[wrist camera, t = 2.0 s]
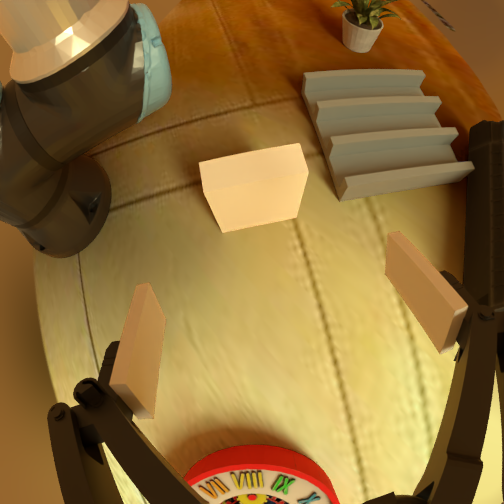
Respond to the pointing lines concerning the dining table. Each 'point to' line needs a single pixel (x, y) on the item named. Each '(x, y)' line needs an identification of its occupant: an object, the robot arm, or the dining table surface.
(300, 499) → the toy clock
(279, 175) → the picture frame
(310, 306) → the dining table surface
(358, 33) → the house plant
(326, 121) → the notched rack
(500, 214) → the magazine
